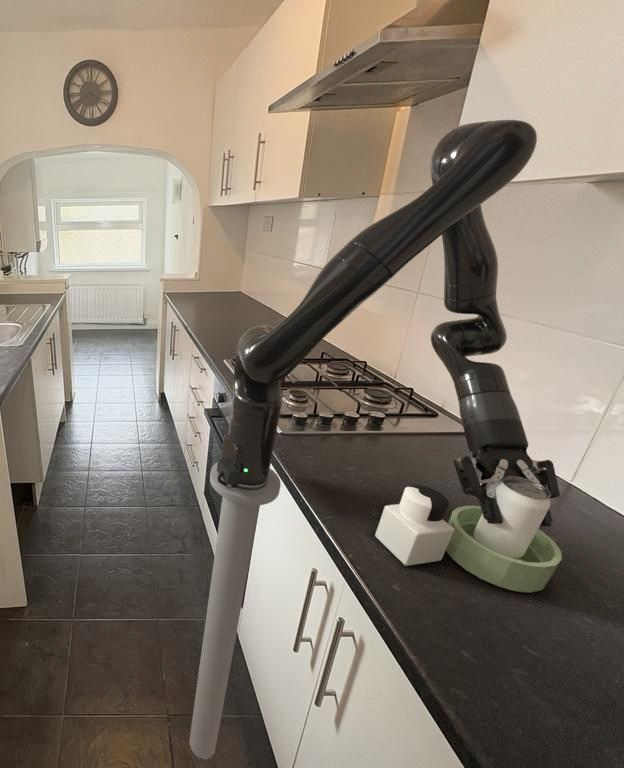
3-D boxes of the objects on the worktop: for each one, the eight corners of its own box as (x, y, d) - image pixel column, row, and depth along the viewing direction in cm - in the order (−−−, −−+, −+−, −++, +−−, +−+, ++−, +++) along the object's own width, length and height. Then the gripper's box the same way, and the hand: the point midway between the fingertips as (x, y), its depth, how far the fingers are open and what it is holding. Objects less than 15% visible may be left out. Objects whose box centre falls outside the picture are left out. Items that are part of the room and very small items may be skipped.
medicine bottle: (407, 531, 77) (427, 477, 72) (442, 561, 70) (466, 505, 65) (373, 536, 75) (391, 482, 71) (405, 567, 69) (427, 510, 64)
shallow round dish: (500, 602, 63) (515, 573, 61) (421, 537, 75) (431, 511, 73) (568, 586, 66) (586, 558, 63) (481, 526, 78) (493, 500, 75)
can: (464, 528, 73) (489, 471, 68) (506, 533, 71) (535, 476, 66) (486, 556, 67) (515, 497, 62) (533, 563, 66) (567, 503, 61)
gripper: (462, 415, 68) (489, 521, 62) (556, 418, 67) (593, 526, 61) (432, 427, 75) (454, 523, 69) (517, 430, 74) (546, 528, 68)
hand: (519, 524), depth 65 cm, fingers closed on can, 6 cm apart
